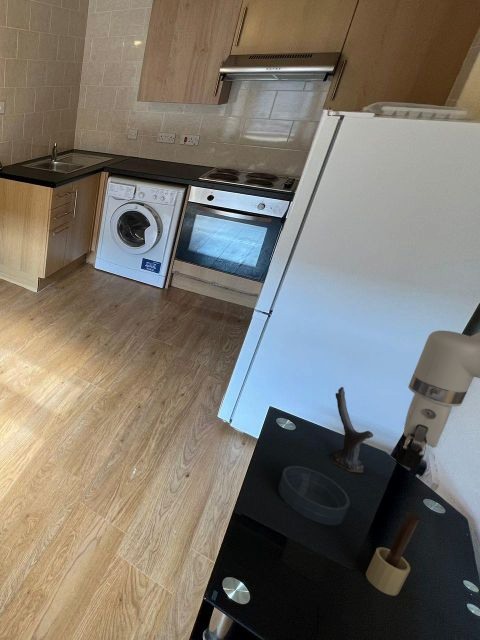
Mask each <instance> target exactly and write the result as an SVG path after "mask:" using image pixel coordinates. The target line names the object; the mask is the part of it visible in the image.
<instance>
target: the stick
mask: <svg viewBox="0 0 480 640" xmlns="http://www.w3.org/2000/svg"><path fill="white" fill-rule="evenodd" d="M419 522H420V518H419V517H418V516H417V515H415V513H412V512H407V513H406V515H405V517H404V519H403V521H402V524H401V526H400V528H399V530H398V532H397V535H396V537H395V539H394V540H393V542H392V545H391V547H390V551H389V553H388V556H387V558H386V560H385V561H386V562H387V563H388V564H390V565H392V566H393V567H395V568H396V567H397V565H398V563H399V561H400V559H401V557H403V554H404V552H405V551H406V548H407V546H408V544H409V542H410V540H411V538H412V536H413V534H414V532H415V530H416V528H417V526H418V523H419Z"/></svg>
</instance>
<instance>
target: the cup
mask: <svg viewBox="0 0 480 640" xmlns="http://www.w3.org/2000/svg"><path fill="white" fill-rule="evenodd" d="M390 549H391V548H390ZM390 549H389V548H387V547H383V546H380V547H377V548H376V549H375V551H374V553H373V556H372V558H371V560H370V563H369V565H368V567H367V569H366V570H365V577H366V579H367V581H368V582H369V583H370V584H371V585H372V586H373V587H374V588H375V589H377V590H378V591H380V592H381V593H384V594H386V595H388V596H394V597H395V596H397V595H399V593H400V591H401V589H402V587H403V585H404V584H405V582H406V580H407V577H408V576H409V574H410V572H411V566H410V564H409V562H408V561H407V560H406V558H404V557H403V556H402V557H401V559H400V561H399V563H398V565H397V567H396V568H395V567H393V566H392V565H390V564H388V563H387V562H386V561H385V560H386V558H387V556H388V553H389V551H390Z"/></svg>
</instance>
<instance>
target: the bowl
mask: <svg viewBox="0 0 480 640" xmlns="http://www.w3.org/2000/svg"><path fill="white" fill-rule="evenodd" d="M277 489H278V493H279V495H280V497H281V498H282V499H283V501H284V502H285V504H287V505H288V506H289V507H290V508H291V509H292V510H293V511H294V512H297V513H298V514H300V515H301V516H302V517H304V518H306V519H309V520H310V521H313V522H315V523H318V524H322V525H327V526H338V525H341V524H342V523H343V522H344V520H345V518H346V516H347V513H348V510H349V508H350V505H351V500H350V498H349V496H348V495H349V494H348V493H347V492H346V490H344V489H343V488H342V486H341V485H339V484H338V483H337V482H336V481H335V480H333V479H332V478H330V477H328V476H326V475H325V474H323V473H321V472H319V471H317V470H314V469H312V468H309V467H305V466H300V465H289V466H287V467H285V468H284V469H283V471H282V474H281V476H280V480H279V483H278V487H277Z"/></svg>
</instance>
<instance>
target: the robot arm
mask: <svg viewBox="0 0 480 640" xmlns="http://www.w3.org/2000/svg"><path fill="white" fill-rule="evenodd" d="M474 378H477V379H480V332H478V333H475V334H473V335H470V336H469V335H467V334H464V333H461V332H457V331H451V330H435V331H432V332H431V333H430V334H429V335H428V337H427V339H426V341H425V344H424V346H423V349H422V351H421V354H420V356H419V359H418V361H417V364H416V366H415V369H414V372H413V373H412V376H411V379H410V381H409V383H408V386H407V387H408V389H409V390H410V392H412V393H413V397H412V399H411V401H410V404H409V406H408V410H407V413H406V417H405V422H404V427H403V433H402V436H401V438H400V441H401V442H402V443H403V445H401V446H400V449H399V451H398V453H397V456H396V458H395V462H396V463H397V464H400V465H402V466H403V467H406V468H409V469H411V470H413V471H418V469H419V467H420V466H421V465H420V464H421V462H422V460H423V458H424V452H425V449H426V446H429V447H431V448H433V449H434V448H437V446H438V444H439V442H440V439H441V436H442V434H443V432H444V429H445V427H446V424H447V422H448V419H449V417H450V414H451V412H452V409H453V407H460V406H461V405H462V403H463V402H464V400H465V397H466V395H467V393H468V391H469V389H470V387H471V384H472V382H473V380H474Z"/></svg>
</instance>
